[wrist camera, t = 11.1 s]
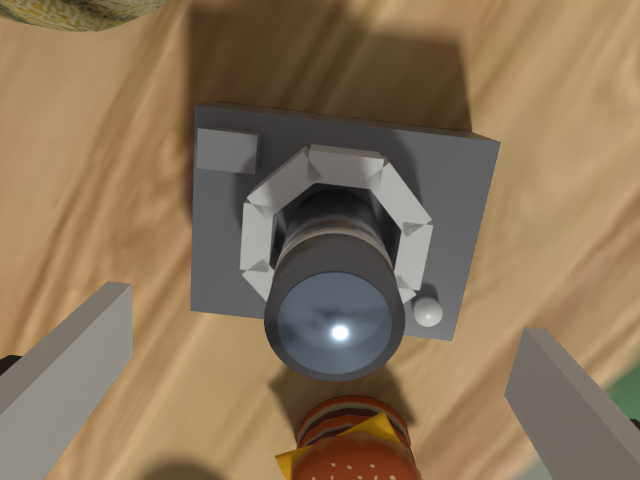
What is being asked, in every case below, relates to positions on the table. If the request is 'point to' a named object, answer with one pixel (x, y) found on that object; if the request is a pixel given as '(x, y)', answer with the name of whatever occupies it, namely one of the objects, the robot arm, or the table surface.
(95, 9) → the cantaloupe
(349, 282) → the lens
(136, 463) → the table surface
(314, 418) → the hamburger
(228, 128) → the camera body
